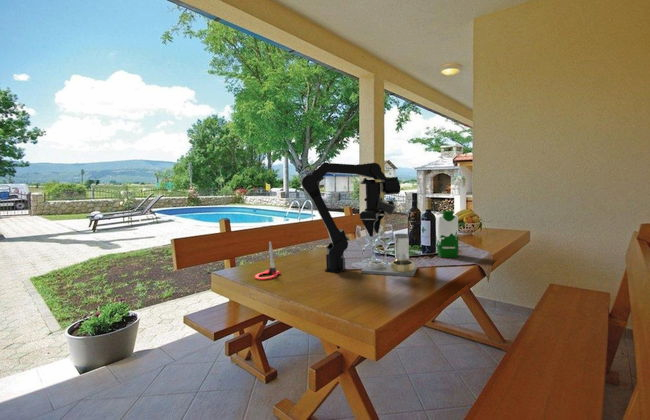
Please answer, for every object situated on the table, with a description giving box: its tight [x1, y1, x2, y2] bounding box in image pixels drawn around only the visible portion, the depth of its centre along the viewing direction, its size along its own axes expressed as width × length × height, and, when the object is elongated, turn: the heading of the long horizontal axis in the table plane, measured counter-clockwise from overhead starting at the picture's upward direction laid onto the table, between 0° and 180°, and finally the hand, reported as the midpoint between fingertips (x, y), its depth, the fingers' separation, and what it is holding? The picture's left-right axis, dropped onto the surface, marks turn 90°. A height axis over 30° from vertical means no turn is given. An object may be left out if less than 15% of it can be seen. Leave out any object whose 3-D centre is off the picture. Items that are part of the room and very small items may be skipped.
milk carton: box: [435, 210, 459, 258], centre depth 143 cm, size 9×9×20 cm
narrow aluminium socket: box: [367, 260, 385, 270], centre depth 125 cm, size 6×6×2 cm
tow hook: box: [254, 241, 282, 281], centre depth 122 cm, size 8×13×9 cm
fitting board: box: [360, 263, 418, 277], centre depth 123 cm, size 19×11×1 cm, turn 67°
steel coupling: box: [394, 233, 410, 265], centre depth 121 cm, size 5×5×13 cm
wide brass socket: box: [390, 260, 415, 272], centre depth 121 cm, size 8×8×2 cm
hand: (374, 234), depth 129 cm, fingers open, 9 cm apart
